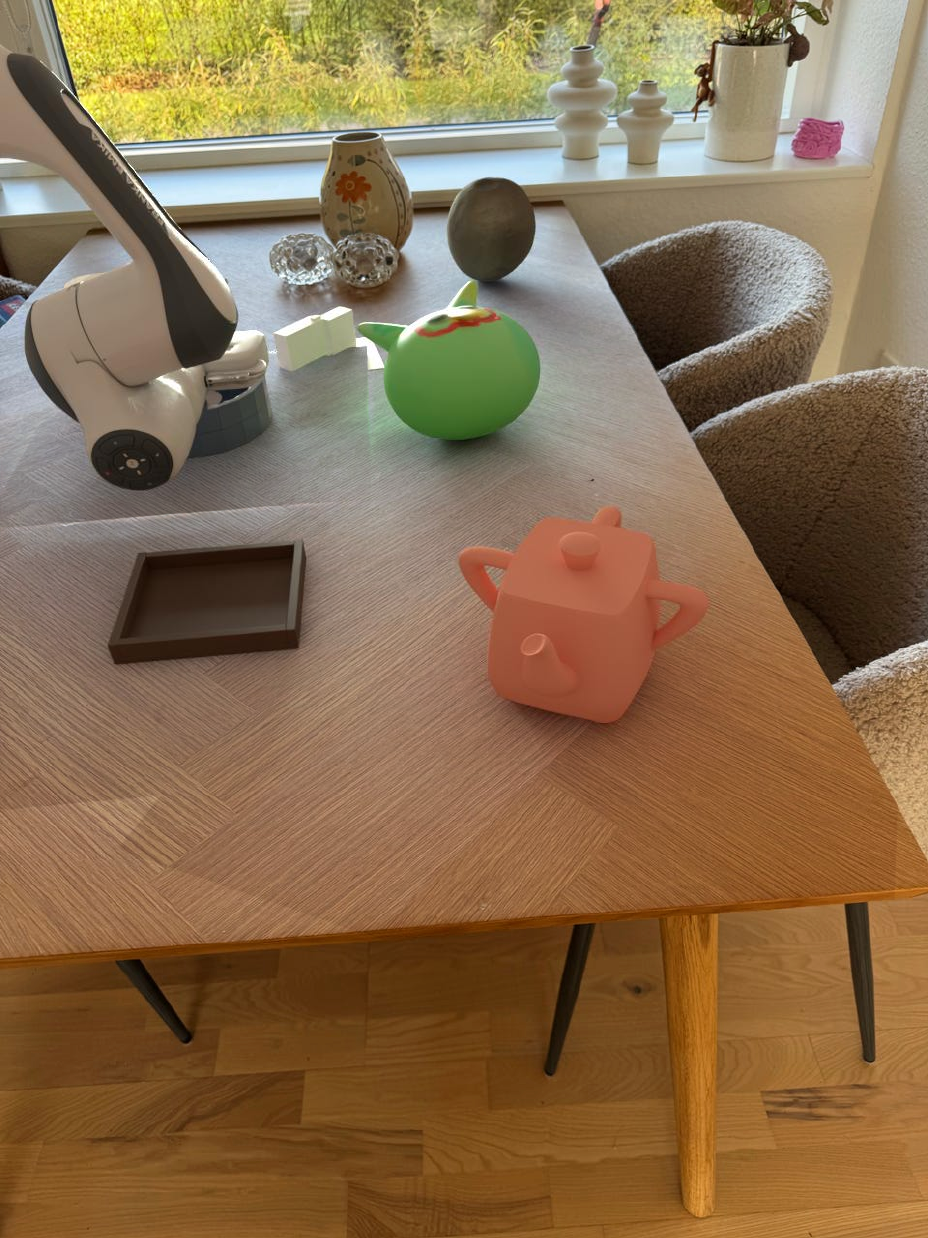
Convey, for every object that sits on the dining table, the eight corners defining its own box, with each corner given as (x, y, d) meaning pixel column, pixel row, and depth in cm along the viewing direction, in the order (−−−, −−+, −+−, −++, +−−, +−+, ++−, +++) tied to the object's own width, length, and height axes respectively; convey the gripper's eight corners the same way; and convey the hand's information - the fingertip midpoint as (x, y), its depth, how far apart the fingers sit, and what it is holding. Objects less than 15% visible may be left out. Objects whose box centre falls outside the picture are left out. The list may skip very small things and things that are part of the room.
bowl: (119, 467, 105) (104, 419, 101) (146, 402, 118) (133, 357, 114) (266, 456, 105) (257, 407, 102) (277, 392, 118) (268, 347, 114)
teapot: (603, 596, 83) (612, 467, 74) (715, 704, 71) (739, 567, 63) (434, 655, 77) (423, 523, 69) (526, 783, 66) (526, 644, 58)
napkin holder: (273, 384, 120) (265, 341, 117) (265, 350, 129) (257, 310, 125) (385, 367, 123) (381, 325, 119) (370, 335, 132) (366, 295, 128)
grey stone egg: (433, 290, 144) (427, 188, 135) (468, 262, 154) (465, 164, 145) (518, 300, 140) (518, 194, 130) (548, 269, 150) (550, 169, 140)
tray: (114, 664, 78) (107, 645, 77) (143, 570, 89) (138, 552, 87) (298, 648, 79) (295, 629, 77) (306, 557, 89) (303, 539, 88)
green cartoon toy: (435, 480, 100) (426, 349, 90) (360, 422, 111) (346, 301, 101) (566, 431, 107) (570, 306, 98) (484, 382, 118) (481, 265, 109)
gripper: (258, 349, 93) (269, 300, 103) (52, 364, 92) (84, 313, 103) (269, 407, 97) (278, 354, 107) (71, 422, 96) (100, 367, 107)
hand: (182, 334), depth 105 cm, fingers open, 6 cm apart
